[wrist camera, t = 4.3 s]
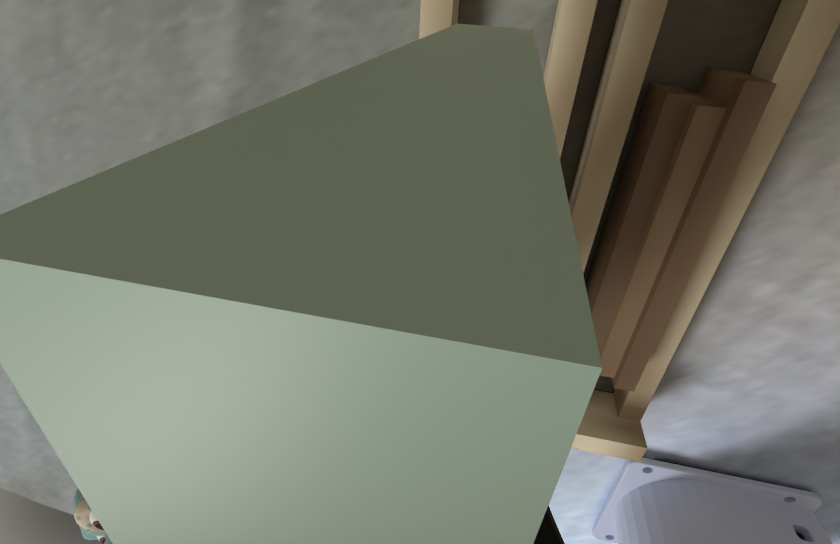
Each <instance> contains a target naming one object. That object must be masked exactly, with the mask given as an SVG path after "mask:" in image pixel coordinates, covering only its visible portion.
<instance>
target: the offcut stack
mask: <svg viewBox="0 0 840 544" xmlns="http://www.w3.org/2000/svg"><path fill="white" fill-rule="evenodd" d="M776 85H777V84H776V83H773V82H770V81H767V80H764V79H761V78H758V77H755V76H752V75H749V74H746V73H743V72H740V71H738V70H735V69H726V68H714V67H707V69H706V72H705V74H704V77H703V80H702V82H701V85H700V88H699V90H698V93H694V92H688V91H686V90H684V89H683V88H681V87H679V86H677V85H675V84H668V83H658V82H649V85H648V88H647V91H646V94H645V98H644V101H643V104H642V107H641V110H640V113H639V116H638V120H637V123H636V126H635V129H634V132H633V135H632V138H631V142H630V145H629V148H628V151H627V154H626V157H625V160H624V164H623V167H622V170H621V173H620V176H619V179H618V182H617V186H616V189H615V192H614V195H613V198H612V201H611V204H610V208H609V211H608V214H607V217H606V220H605V223H604V226H603V229H602V233H601V236H600V239H599V242H598V245H597V248H596V251H595V255H594V258H593V261H592V264H591V267H590V270H589V273H588V277H587V280H586V283H585V286H586V290H587V295H588V300H589V305H590V310H591V315H592V320H593V325H594V330H595V335H596V339H597V344H598V349H599V354H600V359H601V364H602V370H601V373H600V375H599V376H604V377H610V378H612V382H613V386H614V388H615V389H621V390H627V391H633V392H634V391H635V389H636V386H637V384H638V382H639V380H640V378H641V376H642V373H643V371H644V369H645V367H646V365H647V363H648V361H649V358H650V356H651V354H652V352H653V350H654V348H655V345H656V343H657V341H658V339H659V337H660V335H661V333H662V330H663V328H664V326H665V324H666V322H667V320H668V317H669V315H670V313H671V311H672V309H673V307H674V305H675V302H676V300H677V298H678V296H679V294H680V292H681V290H682V287H683V285H684V283H685V281H686V279H687V277H688V274H689V272H690V270H691V268H692V266H693V264H694V262H695V259H696V257H697V255H698V253H699V251H700V249H701V246H702V244H703V242H704V240H705V238H706V236H707V234H708V231H709V229H710V227H711V225H712V223H713V221H714V218H715V216H716V214H717V212H718V210H719V208H720V206H721V203H722V201H723V199H724V197H725V195H726V193H727V191H728V188H729V186H730V184H731V182H732V180H733V178H734V175H735V173H736V171H737V169H738V167H739V165H740V163H741V160H742V158H743V156H744V154H745V152H746V150H747V147H748V145H749V143H750V141H751V139H752V137H753V135H754V132H755V130H756V128H757V126H758V124H759V122H760V119H761V117H762V115H763V113H764V111H765V109H766V107H767V104H768V102H769V100H770V98H771V96H772V94H773V92H774V89H775V87H776Z"/></svg>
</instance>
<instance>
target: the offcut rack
mask: <svg viewBox="0 0 840 544" xmlns="http://www.w3.org/2000/svg"><path fill="white" fill-rule="evenodd" d="M597 1H598V0H559V1H558V6H557V11H556V16H555V21H554V26H553V31H552V36H551V42H550V47H549V52H548V57H547V62H546V67H545V72H544V77H543V80H544V85H545V90H546V95H547V99H548V104H549V109H550V114H551V119H552V124H553V129H554V134H555V139H556V143H557V148H558V153H559V158H560V157H561V153H562V149H563V144H564V140H565V136H566V132H567V128H568V123H569V119H570V115H571V111H572V106H573V102H574V98H575V94H576V90H577V85H578V81H579V77H580V73H581V69H582V64H583V60H584V56H585V52H586V47H587V43H588V39H589V35H590V31H591V26H592V22H593V18H594V14H595V9H596V5H597ZM667 3H668V0H621V3H620V7H619V11H618V14H617V18H616V22H615V26H614V30H613V33H612V37H611V41H610V45H609V49H608V53H607V56H606V60H605V64H604V68H603V72H602V75H601V79H600V83H599V87H598V91H597V95H596V98H595V102H594V106H593V110H592V114H591V117H590V121H589V125H588V129H587V133H586V137H585V140H584V144H583V148H582V152H581V156H580V160H579V163H578V167H577V171H576V175H575V179H574V182H573V186H572V190H571V194H570V198H569V207H570V212H571V217H572V222H573V227H574V232H575V237H576V241H577V246H578V251H579V256H580V261H581V266H582V271H583V273H584V270H585V267H586V264H587V260H588V257H589V254H590V251H591V248H592V244H593V241H594V238H595V235H596V231H597V228H598V225H599V222H600V219H601V215H602V212H603V209H604V206H605V203H606V199H607V196H608V193H609V190H610V186H611V183H612V180H613V177H614V174H615V170H616V167H617V164H618V161H619V158H620V154H621V151H622V148H623V145H624V141H625V138H626V135H627V132H628V129H629V125H630V122H631V119H632V116H633V113H634V109H635V106H636V103H637V100H638V96H639V93H640V90H641V87H642V84H643V80H644V77H645V74H646V71H647V68H648V64H649V61H650V58H651V55H652V51H653V48H654V45H655V42H656V39H657V35H658V32H659V29H660V26H661V22H662V19H663V16H664V13H665V10H666V6H667ZM458 10H459V0H421V13H420V31H419V39H421V38H424V37H426V36H428V35H431V34H433V33H436V32H438V31H440V30H443V29H445V28H448V27H450V26H452V25H455V24H457V20H458ZM839 24H840V0H782V1H781V3H780V5H779V8H778V10H777V12H776V15H775V17H774V19H773V22H772V24H771V26H770V29H769V31H768V33H767V36H766V38H765V40H764V43H763V45H762V47H761V50H760V52H759V54H758V57H757V59H756V61H755V63H754V66H753V68H752V70H751V73H750V75H752V76H755V77H758V78H761V79H764V80H767V81H770V82H773V83H776V84H777V85H776V87H775V89H774V92H773V94H772V96H771V98H770V100H769V102H768V104H767V107H766V109H765V111H764V113H763V115H762V117H761V119H760V122H759V124H758V126H757V128H756V130H755V132H754V135H753V137H752V139H751V141H750V143H749V145H748V147H747V150H746V152H745V154H744V156H743V158H742V160H741V163H740V165H739V167H738V169H737V171H736V173H735V175H734V178H733V180H732V182H731V184H730V186H729V188H728V191H727V193H726V195H725V197H724V199H723V201H722V203H721V206H720V208H719V210H718V212H717V214H716V216H715V218H714V221H713V223H712V225H711V227H710V229H709V231H708V234H707V236H706V238H705V240H704V242H703V244H702V246H701V249H700V251H699V253H698V255H697V257H696V259H695V262H694V264H693V266H692V268H691V270H690V272H689V274H688V277H687V279H686V281H685V283H684V285H683V287H682V290H681V292H680V294H679V296H678V298H677V300H676V302H675V305H674V307H673V309H672V311H671V313H670V315H669V317H668V320H667V322H666V324H665V326H664V328H663V330H662V333H661V335H660V337H659V339H658V341H657V343H656V345H655V348H654V350H653V352H652V354H651V356H650V358H649V361H648V363H647V365H646V367H645V369H644V371H643V373H642V376H641V378H640V380H639V382H638V384H637V386H636V389H635V391H634V392H633V391H627V390H621V389H615V390H614V392H613V393H608V392H603V391H598V390H593V393H592V396H591V398H590V401H589V403H588V406H587V408H586V411H585V413H584V416H583V418H582V421H581V423H580V426H579V429H578V431H577V434H576V436H575V439H574V441H573V444H572V446H571V448H575V449H579V450H584V451H589V452H594V453H599V454H604V455H608V456H613V457H618V458H623V459H628V460H633V461H638V462H640V461H641V459H642V457H643V455H644V454H645V452H646V450H647V445H646V441H645V438H644V434H643V430H642V426H641V423H640V421H641V419H642V417H643V415H644V413H645V411H646V409H647V407H648V405H649V403H650V401H651V399H652V397H653V395H654V393H655V391H656V389H657V387H658V385H659V383H660V381H661V379H662V377H663V375H664V373H665V371H666V369H667V367H668V365H669V363H670V361H671V359H672V357H673V355H674V353H675V351H676V349H677V347H678V345H679V343H680V341H681V339H682V337H683V335H684V333H685V331H686V329H687V327H688V325H689V323H690V321H691V319H692V317H693V315H694V313H695V311H696V309H697V307H698V305H699V303H700V301H701V299H702V297H703V295H704V293H705V291H706V289H707V287H708V285H709V283H710V281H711V279H712V277H713V275H714V273H715V271H716V269H717V267H718V265H719V263H720V261H721V259H722V257H723V255H724V253H725V251H726V249H727V247H728V245H729V243H730V241H731V239H732V237H733V235H734V233H735V231H736V229H737V227H738V225H739V223H740V221H741V219H742V217H743V215H744V213H745V211H746V209H747V207H748V205H749V203H750V201H751V199H752V197H753V195H754V193H755V191H756V189H757V187H758V185H759V183H760V181H761V179H762V177H763V175H764V173H765V171H766V169H767V167H768V165H769V163H770V161H771V159H772V157H773V156H774V154H775V152H776V150H777V148H778V146H779V144H780V142H781V140H782V138H783V136H784V134H785V132H786V130H787V128H788V126H789V124H790V122H791V120H792V118H793V116H794V114H795V112H796V110H797V108H798V106H799V104H800V102H801V100H802V98H803V96H804V94H805V92H806V90H807V88H808V86H809V84H810V82H811V80H812V78H813V76H814V74H815V72H816V70H817V68H818V66H819V64H820V62H821V60H822V58H823V56H824V54H825V52H826V50H827V48H828V46H829V44H830V42H831V40H832V38H833V36H834V34H835V32H836V30H837V28H838V26H839Z"/></svg>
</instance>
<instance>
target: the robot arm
mask: <svg viewBox="0 0 840 544" xmlns="http://www.w3.org/2000/svg"><path fill="white" fill-rule="evenodd" d="M821 505H822V501H821V499H820V497H819V496H818V495H817V494H816V493H813V492H809V491H804V490H799V489H794V488H789V487H784V486H779V485H774V484H770V483H765V482H760V481H755V480H750V479H745V478H740V477H735V476H730V475H726V474H721V473H716V472H711V471H706V470H701V469H696V468H691V467H687V466H682V465H677V464H672V463H667V462H662V461H657V460H652V459H647V458H643V457H642V459H641V461H640V462H638V461H633V460H627V462H626V464H625V466H624V468H623V470H622V472H621V474H620V476H619V478H618V479H617V481H616V483H615V485H614V487H613V489H612V491H611V493H610V495H609V497H608V499H607V501H606V503H605V505H604V507H603V509H602V511H601V512H600V514H599V516H598V518H597V520H596V522H595V524H594V526H593V528H592V531H593V535H594V537H596V538H597V539H601V540H605V541H609V542H614V543H618V544H832V543H831V541H830V539H829V537H828V535H827V534H826V532H825V530H824V528H823V526H822V525H821V523H820V521H819V519H818V517H817V516H816V514H815V511H816V510H817V509H818V508H819V507H820V506H821ZM533 544H564V541H563V539H562V537H561V535H560V532H559V530H558V528H557V525H556V523H555V521H554V518H553V516H552V513H551V511H550V508H549V506H548V507H547V510H546V513H545V515H544V518H543V520H542V523H541V525H540V528H539V530H538V533H537V535H536V538H535V541H534V543H533Z"/></svg>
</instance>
